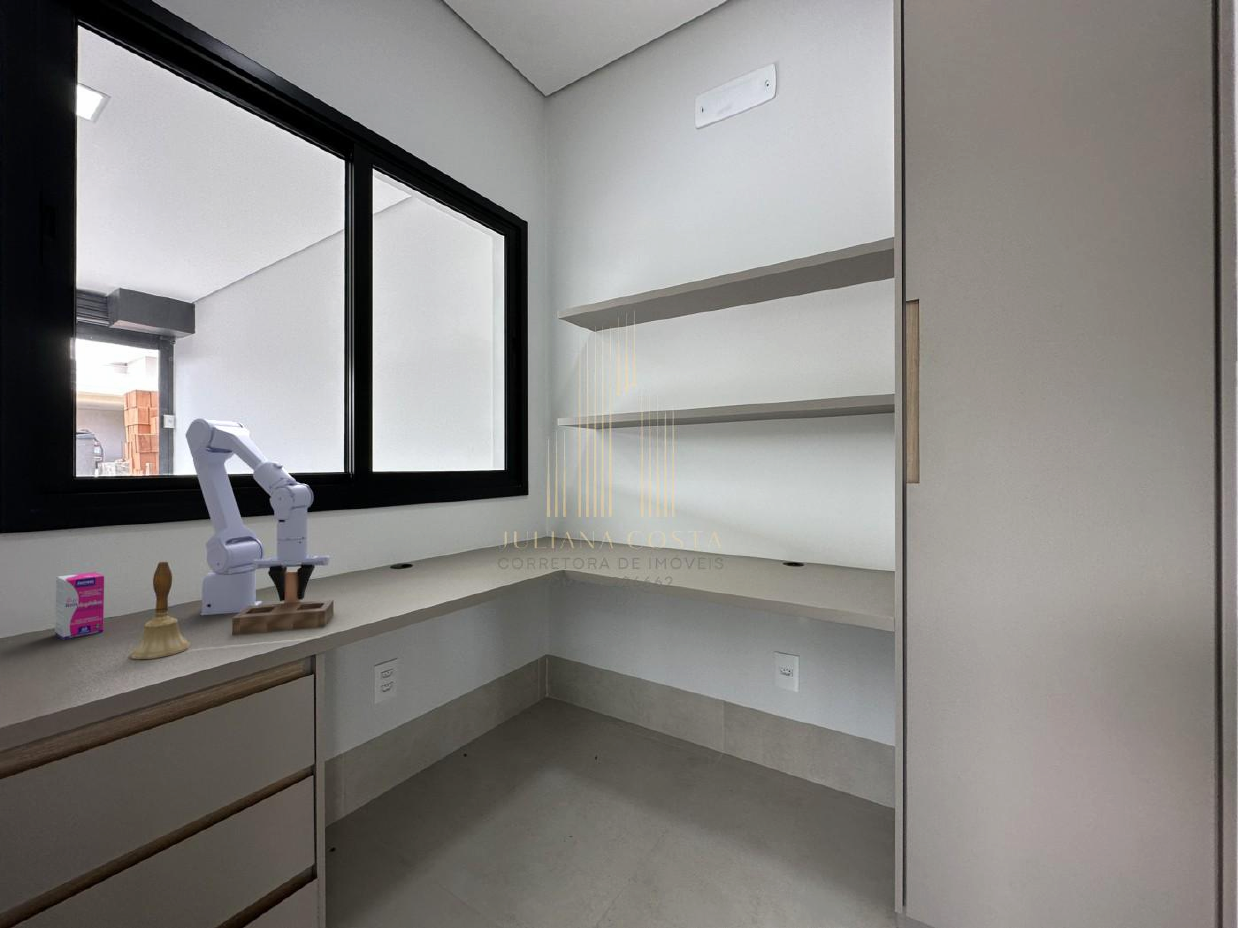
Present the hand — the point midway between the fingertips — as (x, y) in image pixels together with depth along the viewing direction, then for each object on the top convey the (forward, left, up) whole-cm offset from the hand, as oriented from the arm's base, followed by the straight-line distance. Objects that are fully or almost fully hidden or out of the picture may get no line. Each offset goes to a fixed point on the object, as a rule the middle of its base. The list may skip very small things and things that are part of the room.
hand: (292, 599), depth 116 cm
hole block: (+1, -9, -3) cm, 10 cm away
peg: (0, 0, -3) cm, 3 cm away
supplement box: (-36, -2, -3) cm, 36 cm away
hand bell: (-16, -19, -3) cm, 25 cm away
